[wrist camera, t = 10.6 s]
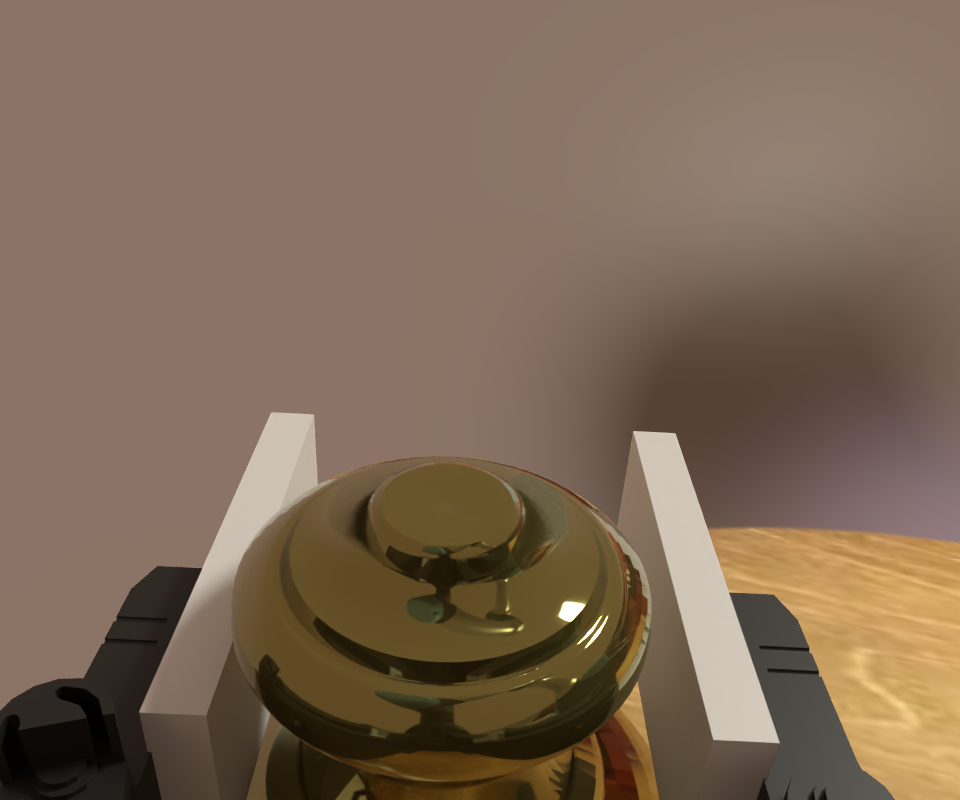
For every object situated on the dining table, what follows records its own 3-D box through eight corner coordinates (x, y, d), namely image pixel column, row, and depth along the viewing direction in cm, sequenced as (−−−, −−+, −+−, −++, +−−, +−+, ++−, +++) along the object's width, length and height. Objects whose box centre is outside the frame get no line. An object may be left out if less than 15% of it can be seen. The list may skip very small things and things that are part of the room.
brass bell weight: (588, 765, 18) (662, 349, 13) (711, 1229, 12) (942, 765, 7) (234, 792, 17) (169, 354, 12) (163, 1313, 11) (-33, 843, 6)
